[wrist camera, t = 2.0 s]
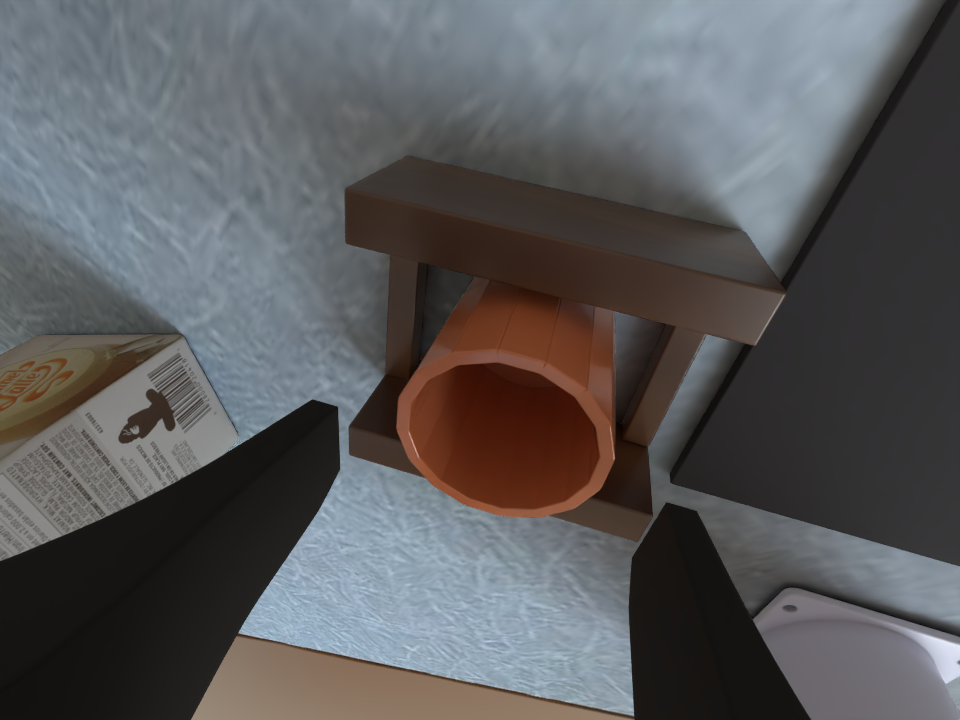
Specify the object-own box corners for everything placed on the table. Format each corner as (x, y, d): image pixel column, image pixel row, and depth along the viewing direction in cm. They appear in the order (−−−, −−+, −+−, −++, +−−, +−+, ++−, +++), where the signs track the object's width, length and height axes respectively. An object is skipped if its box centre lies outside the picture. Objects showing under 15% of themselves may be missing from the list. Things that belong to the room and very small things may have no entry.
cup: (589, 402, 17) (577, 540, 13) (453, 365, 18) (392, 483, 13) (638, 273, 14) (648, 389, 10) (472, 233, 15) (402, 323, 10)
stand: (634, 455, 18) (638, 543, 15) (393, 387, 19) (348, 455, 16) (746, 231, 13) (789, 293, 10) (406, 154, 14) (343, 187, 11)
